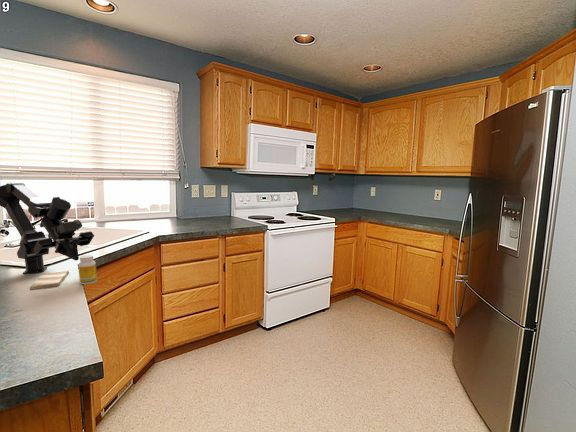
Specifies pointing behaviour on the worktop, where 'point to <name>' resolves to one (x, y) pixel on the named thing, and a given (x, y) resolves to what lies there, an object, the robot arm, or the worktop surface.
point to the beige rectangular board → (49, 279)
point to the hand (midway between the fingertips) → (77, 259)
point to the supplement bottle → (87, 270)
